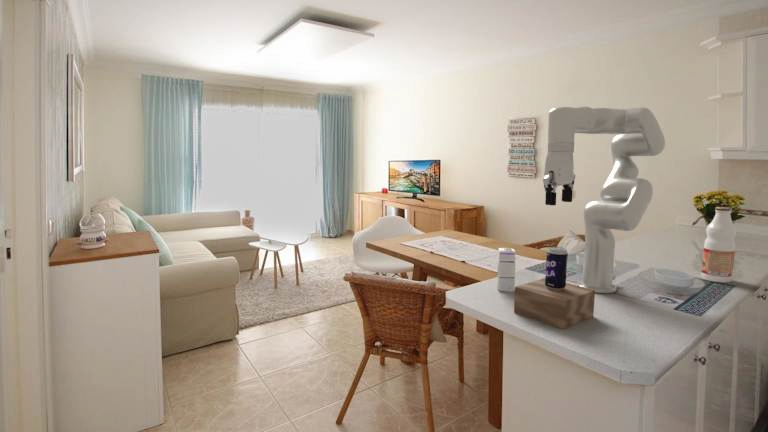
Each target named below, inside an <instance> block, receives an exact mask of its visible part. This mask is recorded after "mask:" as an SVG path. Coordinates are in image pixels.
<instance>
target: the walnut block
mask: <svg viewBox="0 0 768 432" xmlns="http://www.w3.org/2000/svg"><path fill="white" fill-rule="evenodd" d="M595 297H596V292H595V290H592V289H588V288H584V287H580V286H577V284H572V283H568V282H566V287H565V288H563V289H562V290H551V289H549V288H547V286H546V285H545V277H544V278H541V279H537V280H534V281H530V282H526V283H523V284H520V285H515V290H514V306H513V308H514V309H513V314H514V313H515V314H518V315H520V316H523V317H526V318H530V319H532V320H535V321H538V322H541V323H542V324H543V323H544V324H547V325H549V326H552V327H556V328H559V329H561V330H566V329H568V328H570V327H573V326H575V325H578V324H580V323H582V322H584V321H586V320H589V319H590V318H593V317H594V312H595V311H594V310H595Z"/></svg>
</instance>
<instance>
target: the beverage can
mask: <svg viewBox="0 0 768 432" xmlns="http://www.w3.org/2000/svg"><path fill="white" fill-rule="evenodd" d="M568 255H569V254H568V251H567V248H566V247H561V246H549V247H548V250H547V251H546V261H545V262H546V263H545V276H544V278H545V285H546V286H547V288H549V289H551V290H562V289H563V288H565V287H566V283H567V273H568V272H567V270H568Z"/></svg>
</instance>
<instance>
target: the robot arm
mask: <svg viewBox="0 0 768 432" xmlns="http://www.w3.org/2000/svg"><path fill="white" fill-rule="evenodd" d="M547 129H548V130H547V133H548V134H547V154H546V156H545V157H546V158H545V163H544V175H543V178H542V182H543V188H544V192H545V203H544V204H545V205H546V206H556V205H557V192H556V190H557V188H558V186H559V187H560V186H562V189H561V202H564V203H565V202H566V203H572V202H573V191H574V190H573V189H574V185H575V180H576V174H575V171H574V168H575V165H574V153H575V134H587V135H588V134H589V135H615V136H614V137H613V138H612V140H611V143H610V150H611V156H612V163H613V164H612V165H613V166H612V169H611V171H610V172H609V175H608V176H607V178H606V179H605V181H604V183H603V185H602V188H600V189H601V190H600V194H599V195H600V200H599V199H596V200H593V201H592V200H591V201H590V202H588V203H586V205H585V207H584V209H583V220H584V230H585V231H584V248H583V250H584V251H583V263H582V264H583V266H582V279H581V280H579V281H577V284H576V286H580V287H584V288H588V289H592V290H595V294H596V293H597V294H613V293H616V292H617V288H618V287H617V286H616V285H614V284H613V280H616V275H615V274H614V265H615V264H614V263H615V261H614V260H615V252H616V251H615V249H616V240H615V236H614V234H613V232H612V230H616V231H624V232H630V231H633V230H635V229H636V228H637V227H638V226H639V224H640V223H641V221H642V218H643V216H644V215H645V213H646V211H647V209H648V207H649V205H650V204H651V201H652V197H653V193H654V190H653V189H654V188H653V185H652V183H651V181H649V180H648V179H645V178H640V177H638V176H639V169H638V166H637V163H635V162H634V161H633V159H632V157H656V156H658V155H660V154H661V153H662V152H663V151H664V149H665V146H666V140H665V135H664V133H663V131H662V129H661V127H660V124H659V122H658V120H657V117H656V116H655V115H654V113H653V112H652V110H650V109H649V108H648V107H632V108H610V107H609V108H608V107H597V108H596V107H595V108H593V107H589V106H578V107H576V106H575V107H572V106H562V107H561V106H559V107H554V108H551V109H550V110H549V113H548V127H547ZM601 199H602V200H601Z"/></svg>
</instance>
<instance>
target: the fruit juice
mask: <svg viewBox="0 0 768 432" xmlns="http://www.w3.org/2000/svg"><path fill="white" fill-rule="evenodd" d="M714 211H715V215H714V216H713V219H712V220H711V222H710V223H708V225H707V226H706V229H705V234H706V238H705V240H704V243H703V250H702V251H703V252H702V261H701V262H702V263H701V271H700V277H701V279H703V280H705V281H709V282H713V283H725V284H726V283H727V282H728V283H730V282H732V279H733V271H734V264H735V263H734V262H735V254H736V241H735V239H736V237H737V233H738V231H737V227H736V226H735V225H734V222H733V220H732V215H731V213H732V211H733V208H732V207H728V206H716V207H714Z"/></svg>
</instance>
